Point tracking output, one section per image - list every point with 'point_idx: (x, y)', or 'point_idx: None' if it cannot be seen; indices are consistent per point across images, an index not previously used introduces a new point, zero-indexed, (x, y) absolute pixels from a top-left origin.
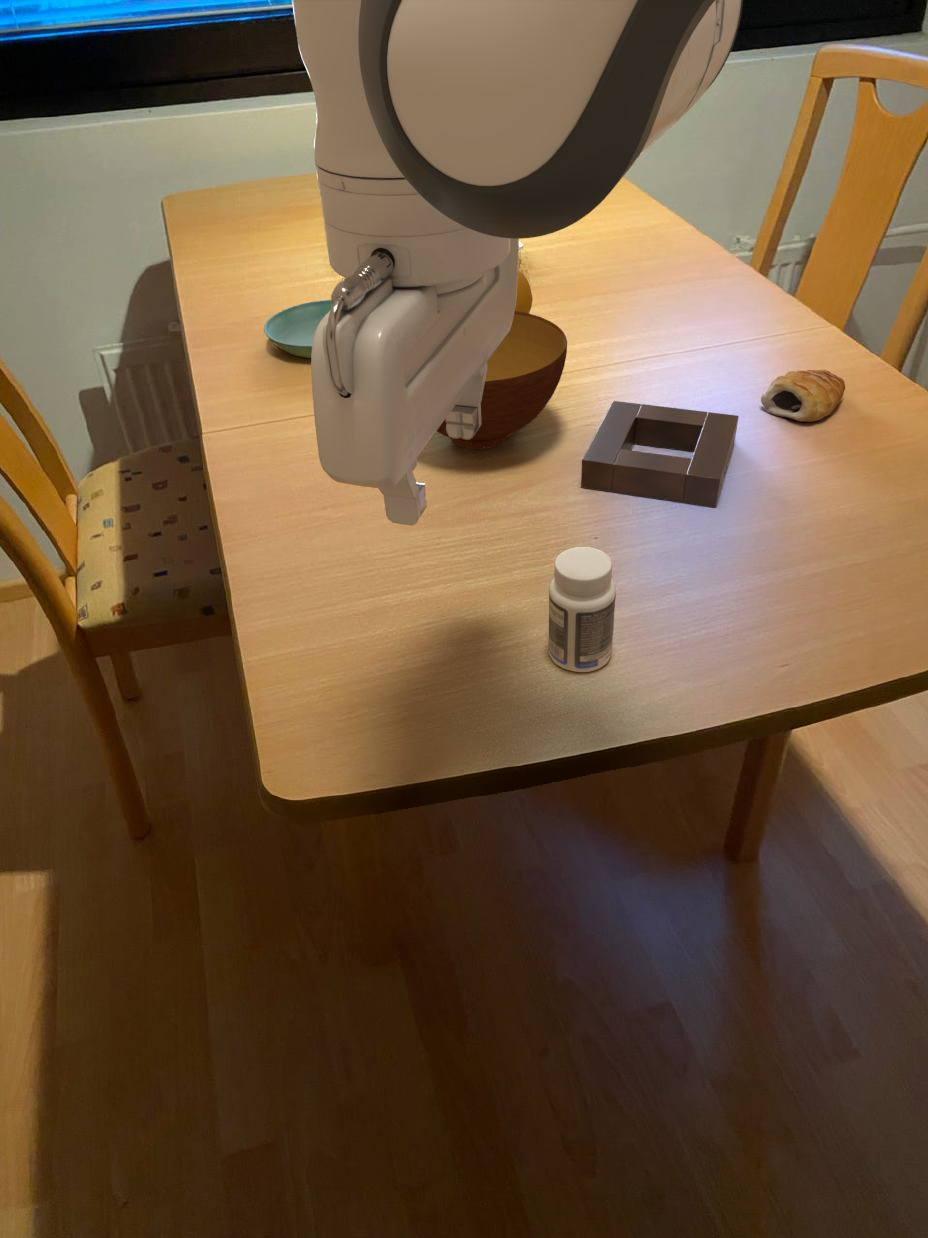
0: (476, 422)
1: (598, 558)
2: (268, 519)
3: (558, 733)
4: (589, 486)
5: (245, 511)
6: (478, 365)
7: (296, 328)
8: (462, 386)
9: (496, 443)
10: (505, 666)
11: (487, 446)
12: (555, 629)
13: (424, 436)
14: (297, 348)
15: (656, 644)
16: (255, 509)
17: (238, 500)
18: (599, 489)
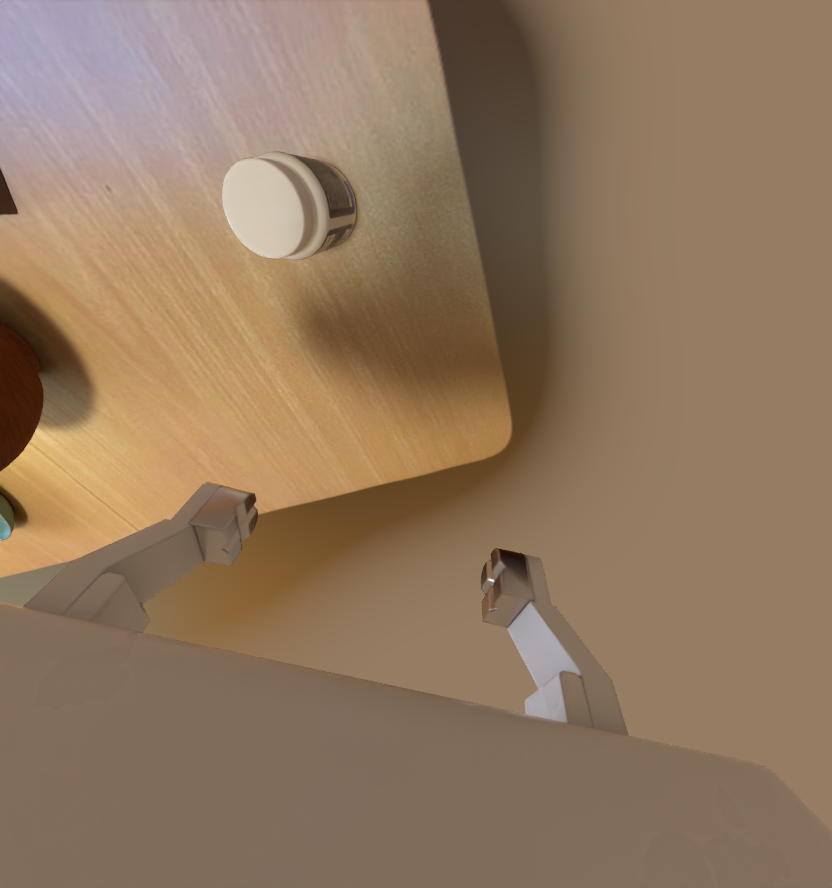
0: (220, 503)
1: (245, 184)
2: None
3: (446, 229)
4: (8, 200)
5: None
6: (169, 684)
7: None
8: (323, 719)
9: (7, 329)
10: (358, 293)
11: (20, 338)
12: (331, 244)
13: (632, 788)
14: (6, 515)
15: (282, 84)
16: None
17: None
18: (4, 184)
